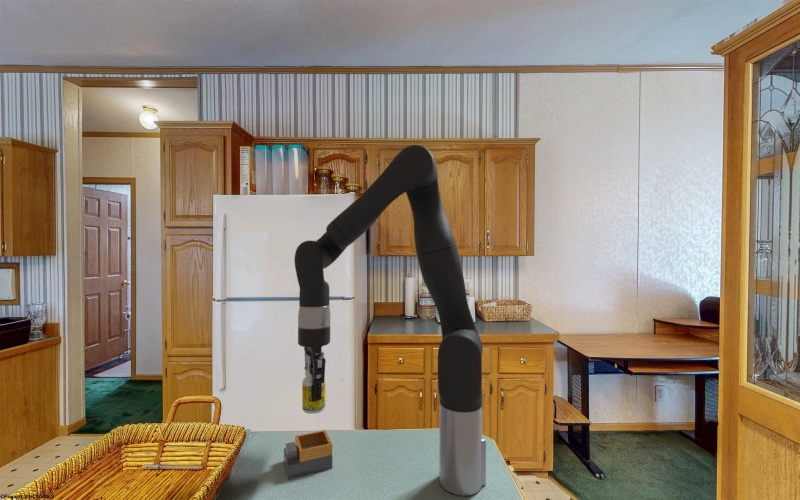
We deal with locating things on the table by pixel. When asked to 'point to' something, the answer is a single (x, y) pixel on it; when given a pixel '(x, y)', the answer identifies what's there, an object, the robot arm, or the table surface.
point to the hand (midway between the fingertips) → (313, 394)
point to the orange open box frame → (308, 454)
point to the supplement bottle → (307, 402)
